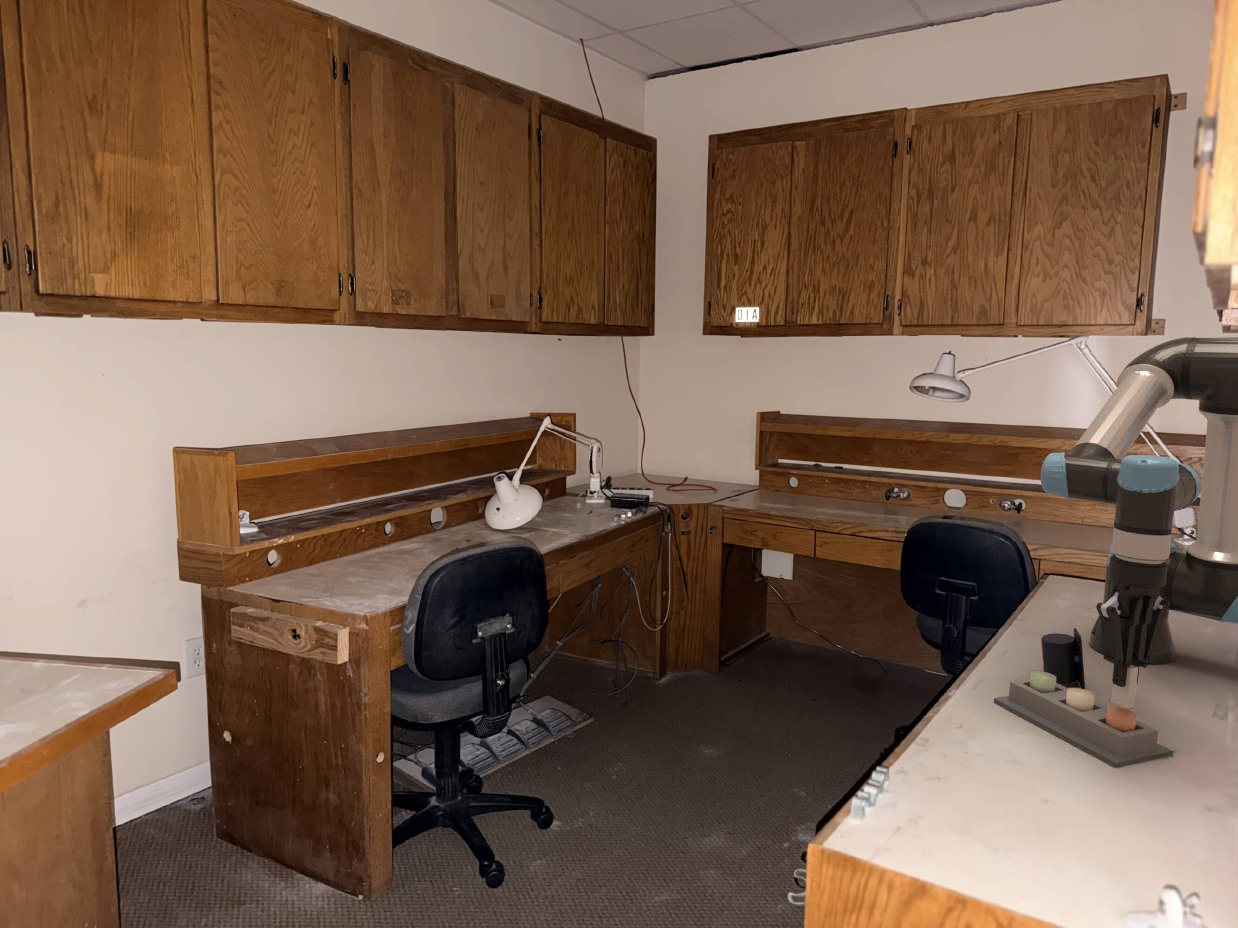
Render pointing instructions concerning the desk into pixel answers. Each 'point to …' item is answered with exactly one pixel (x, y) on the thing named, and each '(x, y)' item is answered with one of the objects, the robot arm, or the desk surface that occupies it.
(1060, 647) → the speaker
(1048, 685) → the sage button
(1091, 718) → the control panel
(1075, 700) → the cream button
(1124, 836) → the desk surface
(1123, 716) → the terracotta button
